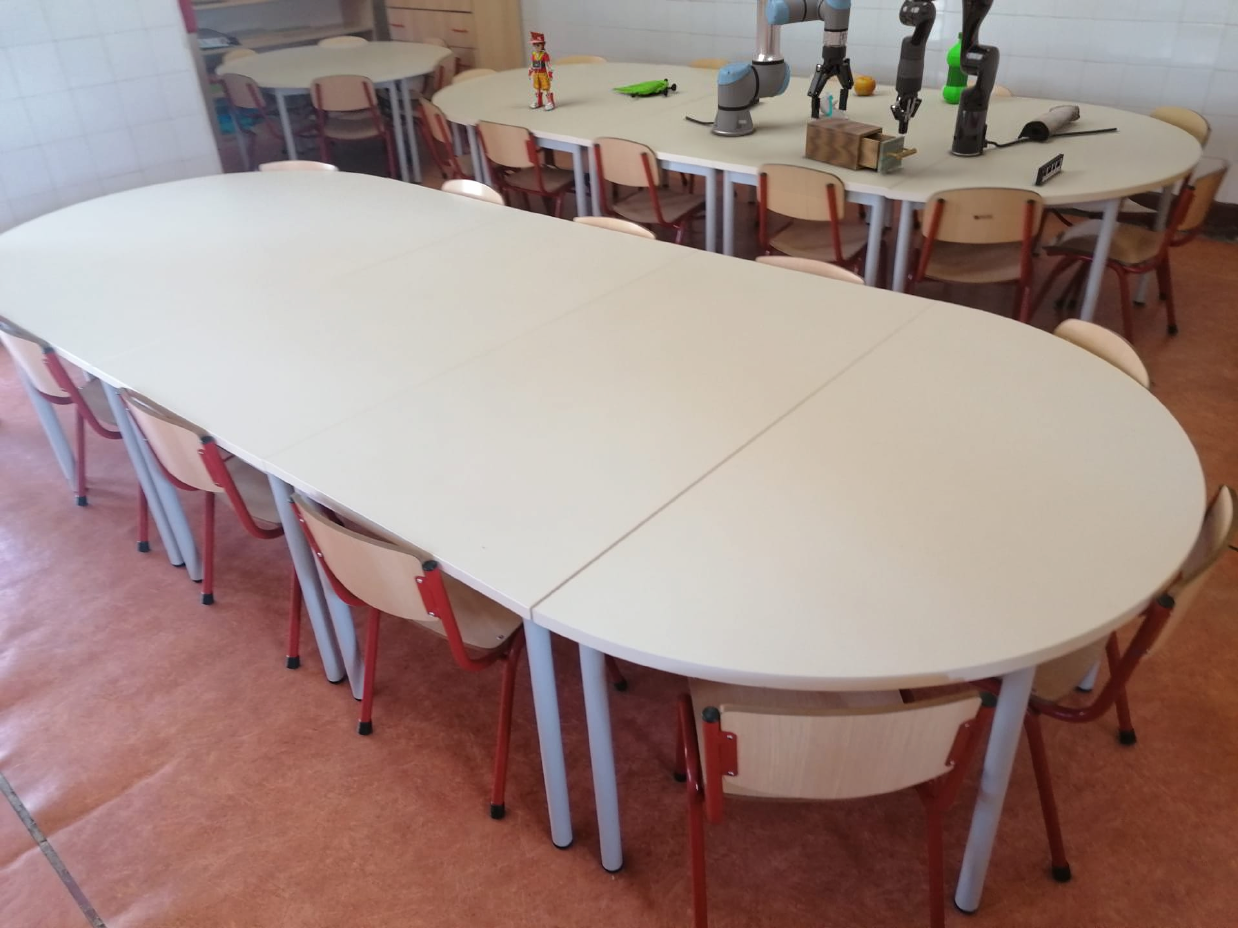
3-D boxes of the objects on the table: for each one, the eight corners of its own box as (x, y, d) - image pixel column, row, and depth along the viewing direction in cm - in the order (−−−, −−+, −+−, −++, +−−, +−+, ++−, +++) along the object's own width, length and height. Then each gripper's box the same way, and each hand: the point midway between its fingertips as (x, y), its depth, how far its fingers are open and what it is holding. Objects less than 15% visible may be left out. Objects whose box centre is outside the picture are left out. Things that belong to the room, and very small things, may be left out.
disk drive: (744, 111, 360) (759, 102, 370) (744, 104, 358) (760, 95, 368) (721, 109, 365) (737, 100, 375) (721, 102, 363) (737, 93, 373)
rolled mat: (1047, 110, 326) (1071, 92, 318) (1060, 131, 326) (1086, 114, 318) (1013, 133, 309) (1038, 115, 301) (1028, 155, 309) (1053, 137, 301)
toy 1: (525, 109, 381) (517, 32, 364) (534, 104, 388) (527, 28, 371) (550, 110, 377) (543, 32, 360) (559, 105, 384) (553, 28, 367)
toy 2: (686, 85, 398) (631, 84, 414) (685, 72, 395) (629, 72, 411) (651, 104, 381) (596, 103, 397) (650, 92, 378) (594, 91, 394)
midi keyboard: (1039, 185, 269) (1043, 168, 266) (1035, 184, 270) (1038, 168, 267) (1060, 170, 279) (1064, 154, 277) (1056, 169, 280) (1060, 153, 277)
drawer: (916, 169, 285) (920, 139, 280) (895, 176, 280) (899, 146, 275) (851, 153, 303) (853, 125, 298) (830, 160, 298) (832, 131, 293)
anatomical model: (812, 91, 345) (837, 84, 345) (815, 118, 351) (840, 111, 351) (822, 101, 333) (849, 93, 332) (825, 128, 339) (851, 121, 338)
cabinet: (878, 162, 296) (882, 127, 290) (855, 170, 291) (859, 135, 284) (827, 150, 311) (830, 116, 304) (804, 157, 305) (807, 123, 299)
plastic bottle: (973, 101, 354) (984, 32, 339) (955, 106, 349) (966, 36, 335) (952, 97, 361) (962, 29, 346) (934, 102, 356) (944, 33, 342)
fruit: (849, 87, 368) (861, 69, 365) (851, 91, 376) (863, 73, 373) (866, 98, 367) (878, 80, 364) (868, 102, 375) (880, 84, 372)
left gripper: (817, 53, 277) (811, 124, 289) (869, 40, 289) (862, 108, 301) (799, 50, 282) (794, 119, 294) (851, 37, 294) (844, 104, 306)
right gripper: (906, 80, 263) (899, 140, 273) (934, 72, 269) (925, 131, 279) (885, 76, 268) (879, 136, 278) (913, 69, 274) (905, 127, 284)
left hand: (828, 114), depth 298 cm, fingers open, 13 cm apart
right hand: (902, 133), depth 279 cm, fingers closed
